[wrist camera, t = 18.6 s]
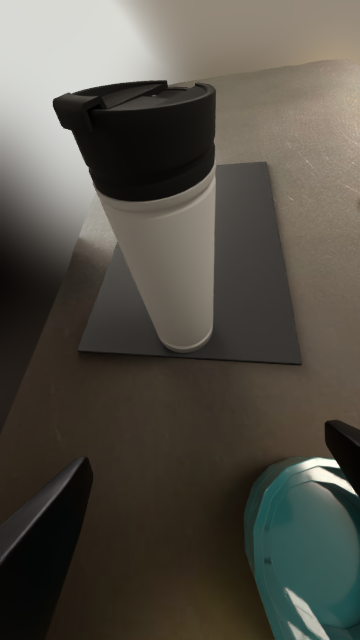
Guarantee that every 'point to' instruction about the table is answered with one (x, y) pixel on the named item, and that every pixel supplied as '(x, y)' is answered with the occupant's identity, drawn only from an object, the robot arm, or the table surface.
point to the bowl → (305, 549)
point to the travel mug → (156, 193)
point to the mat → (229, 285)
